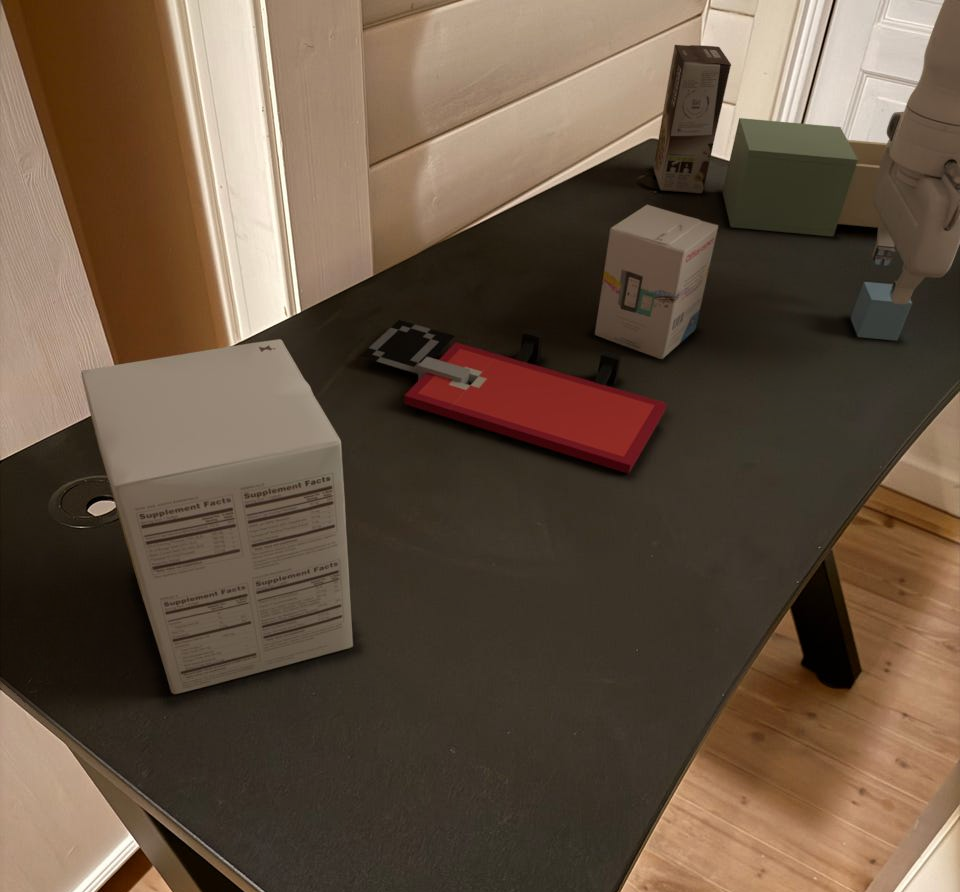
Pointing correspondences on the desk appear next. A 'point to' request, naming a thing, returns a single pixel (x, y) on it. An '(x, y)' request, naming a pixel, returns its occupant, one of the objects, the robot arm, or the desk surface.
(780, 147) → the cabinet
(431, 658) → the desk surface
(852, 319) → the matte blue-grey cube
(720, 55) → the coffee box
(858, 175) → the drawer
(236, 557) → the supplement box
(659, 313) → the ink box
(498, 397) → the red board with handle
